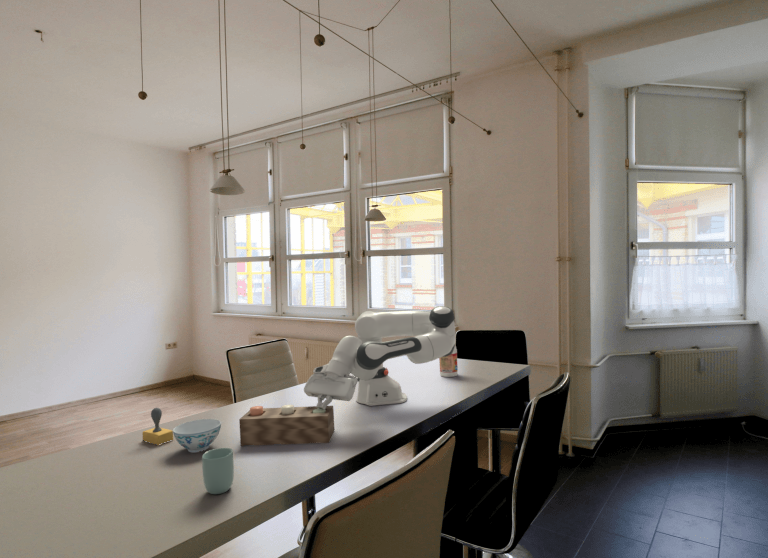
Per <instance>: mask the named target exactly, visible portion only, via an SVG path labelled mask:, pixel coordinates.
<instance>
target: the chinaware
mask: <svg viewBox="0 0 768 558" xmlns="http://www.w3.org/2000/svg"><path fill="white" fill-rule="evenodd" d="M221 427H222V421H221V420H220V419H217V418H201V419H199V418H198V419H194V420H190V421H186V422H183V423H180V424H179V425H176V426H175V427H173V429H172V431H173V437H174V438H175V440H176V442H177V443H178V444H179V445H180V446H181V447H183V448H185V449H186V450H187V451H188V452H189V453H200V452H199V451H201V452H204V451H206V450H208V449H209V448H210V445H211V444H212V443H213V442H214V441H215V440H216V439H217V437H218V435H219V433H220V431H221V429H222V428H221ZM203 450H204V451H203Z"/></svg>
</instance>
